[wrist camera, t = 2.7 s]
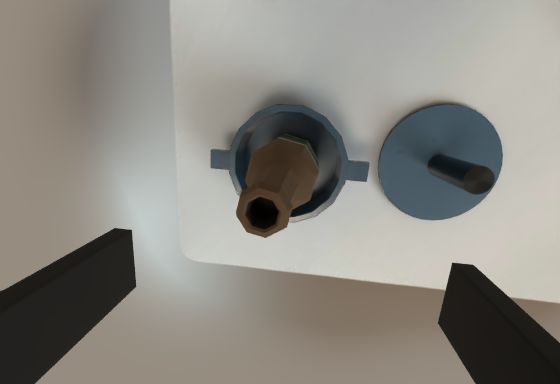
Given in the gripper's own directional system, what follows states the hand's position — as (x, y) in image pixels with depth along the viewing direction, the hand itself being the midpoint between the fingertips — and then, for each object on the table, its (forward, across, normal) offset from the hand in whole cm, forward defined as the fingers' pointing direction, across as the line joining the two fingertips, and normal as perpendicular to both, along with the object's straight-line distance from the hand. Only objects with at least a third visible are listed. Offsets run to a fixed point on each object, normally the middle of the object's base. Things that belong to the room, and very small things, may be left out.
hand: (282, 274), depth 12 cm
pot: (+30, -2, 0) cm, 31 cm away
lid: (+30, +18, +1) cm, 35 cm away
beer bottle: (+30, -2, 0) cm, 30 cm away
